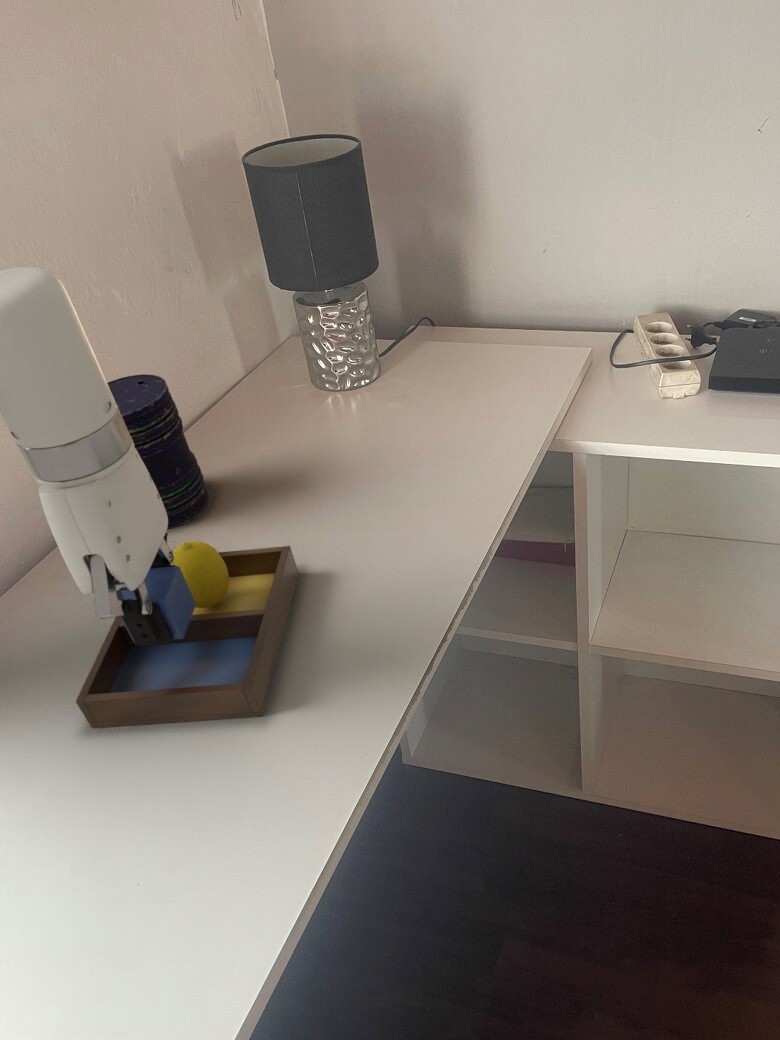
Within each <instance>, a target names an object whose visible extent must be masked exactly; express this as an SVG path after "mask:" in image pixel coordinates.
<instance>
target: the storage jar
mask: <svg viewBox="0 0 780 1040" xmlns="http://www.w3.org/2000/svg"><path fill="white" fill-rule="evenodd" d="M107 384H108V386H109V388H110V391H111V393H112V395H113V398H114V400H115V402H116V404H117V407H118V409H119V411H120V413H121V416H122V418H123V420H124V422H125V425H126V427H127V429H128V431H129V434H130V436H131V438H132V440H133V443H134V447H135V449H136V450H137V452H138V454H139V456H140V457H141V459H142V461H143V463H144V464H145V466H146V468H147V470H148V472H149V474H150V476H151V478H152V480H153V482H154V484H155V486H156V488H157V490H158V493H159V495H160V497H161V500H162V502H163V505H164V507H165V510H166V513H167V516H168V527H167V530H168V529H169V530H170V529H173V528H176V527H178V526H182V525H183V524H186V523H188V522H190V521H192V520H194V518H196V517H197V516H199V515H200V514H201V513H203V511H204V510H205V509H206V508H207V506H208V504H209V503H210V493H209V490H208V488H207V487H206V483H205V480H204V475H203V472H202V469H201V466H200V465H199V464H198V459H197V458H196V455H195V454H194V452H193V451H191V449H190V446H189V443H188V441H187V439H186V436H185V433H184V431H183V430H184V425H183V420H182V417H181V416H180V414H179V410H178V407H177V405H176V401H174V399H173V397H172V394H171V392H170V390H169V386H168V384H167V381H166V379H164V378H163V377H161V376H159V375H155V374H149V373H147V374H144V373H143V374H141V373H140V374H134V375H128V376H127V375H126V376H123V377H120V378H116V379H113V380H110V381H107Z"/></svg>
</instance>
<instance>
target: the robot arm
mask: <svg viewBox="0 0 780 1040" xmlns="http://www.w3.org/2000/svg"><path fill="white" fill-rule="evenodd" d="M84 329H85V328H84V327H83V325H82V322H81V320H80V318H79V316H78V313H77V311H76V309H75V307H74V305H73V302H72V299H71V298H70V295H69V294H68V292H67V290H66V287H65V286H64V284H63V282H62V281H61V280H60V279H59V278H58V277H57V276H56V275H55V274H54V273H52V272H51V271H49V270H47V269H45V268H42V267H37V266H18V267H10V268H6V269H1V270H0V416H1V417H2V420H3V421H4V423H5V425H6V427H7V429H8V431H9V432H10V434H11V436H12V437H13V440H14V441H15V444H16V445H17V447H18V449H19V452H20V453H21V455H22V456H23V459H24V461H25V462H26V465H27V466H28V468H29V470H30V472H31V474H32V475H33V477H34V479H35V480H36V482H37V483H38V484H39V487H38V489H37V491H38V496H39V499H40V503H41V507H42V510H43V512H44V515H45V518H46V521H47V524H48V526H49V529H50V531H51V534H52V536H53V538H54V541H55V543H56V545H57V548H58V551H59V552H60V554H61V556H62V559H63V561H64V562H65V564H66V567H67V569H68V571H69V573H70V574H71V576H72V578H73V581H74V582H75V585H76V586H77V588H78V589H79V590H80V592H81V593H82V594H83V595H84V596H91V595H93V597H94V599H93V600H94V606H95V612H96V613H95V614H96V617H97V618H98V619H99V620H100V619H101V620H102V619H115V617H122V618H123V620H124V622H125V624H126V626H127V628H128V629H129V631H130V633H131V635H132V637H133V639H134V641H135V643H136V644H137V645H138V646H154V645H165V644H171V643H172V640H173V635H172V633H171V631H170V629H169V627H168V625H167V623H166V621H165V619H164V617H163V615H162V613H161V611H160V608H159V606H158V605H155V606H152V603H151V600H150V597H149V593H148V590H147V587H146V584H145V581H144V579H145V577H146V575H147V573H148V571H149V569H152V568H163V567H173V566H175V565H170V564H172V563H173V562H174V554H173V552H174V551H173V549H171V547H170V545H169V544H168V534H169V533H167V531H168V529H167V527H168V516H167V513H166V510H165V507H164V505H163V502H162V500H161V497H160V495H159V493H158V490H157V488H156V486H155V484H154V482H153V480H152V478H151V476H150V474H149V472H148V470H147V468H146V466H145V464H144V463H143V461H142V459H141V457H140V456H139V454H138V452H137V450H136V449H135V447H134V443H133V440H132V438H131V436H130V434H129V431H128V429H127V427H126V425H125V422H124V420H123V418H122V416H121V413H120V411H119V409H118V407H117V404H116V402H115V400H114V398H113V395H112V393H111V391H110V388H109V386H108V384H107V383H108V381H107V379H106V377H105V375H104V372H103V371H102V370H103V369H102V368H101V366H100V363H99V361H98V359H97V356H96V354H95V352H94V350H93V348H92V345H91V343H90V341H89V338H88V336H87V333H86V332H85V330H84ZM121 590H130V591H134V593H135V596H136V599H137V600H133V599H126V600H124V597H123V594H122V591H121Z"/></svg>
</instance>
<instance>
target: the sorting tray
mask: <svg viewBox="0 0 780 1040" xmlns="http://www.w3.org/2000/svg"><path fill="white" fill-rule="evenodd" d="M217 552H218V551H217ZM218 553H219V555H220V556H221V558H222V559H223V561H224V562H225V564H226V567H227V570H228V575H229V586H228V590H227V592H226V594H225V596H224V597H223V599H222V600H221V601H220V602H218V603H217V604H215V605H214V606H213V607H207V608H196V607H195V609H194V611H193V614H192V617H191V619H190V622H189V625H188V627H187V630H186V633H185V635H184V638H183V639H174V640H172V643H171V644H165V645H154V646H138V645H137V644H136V643H134V642H133V640H132V638H131V636H130V634H129V632H128V631H127V629H126V627H125V625H124V623H123V621H122V619H121V617H115V618H113V621H112V624H111V625H110V627H109V629H108V632H107V634H106V636H105V639H104V641H103V643H102V644H101V647H100V649H99V650H98V653H97V655H96V657H95V660H94V662H93V664H92V666H91V668H90V671H89V672H88V674H87V677H86V678H85V681H84V683H83V685H82V686H81V690H80V692H79V693H78V696H77V698H76V700H75V704H76V706H77V707H78V708H79V710H80V711H81V713H82V715H83V716H84V718H85V719H86V722H88V724H89V726H90V728H92V729H102V728H113V727H114V728H115V727H128V726H129V727H130V726H142V725H156V724H157V725H158V724H171V723H184V722H185V723H186V722H187V723H188V722H199V721H215V720H226V719H227V720H228V719H242V718H255V717H257V718H258V717H263V716H264V712H265V709H266V704H267V700H268V697H269V692H270V689H271V685H272V681H273V677H274V671H275V668H276V665H277V661H278V656H279V653H280V649H281V645H282V640H283V638H284V632H285V628H286V625H287V620H288V617H289V612H290V608H291V605H292V600H293V597H294V593H295V589H296V584H297V581H298V576H299V573H300V571H299V569H298V566H297V563H296V559H295V557H294V554H293V551H292V547H291V546H290V545H284V546H273V547H262V548H252V549H240V550H233V551H232V550H231V551H229V550H228V551H220V552H218Z"/></svg>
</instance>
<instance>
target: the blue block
mask: <svg viewBox="0 0 780 1040" xmlns="http://www.w3.org/2000/svg"><path fill="white" fill-rule="evenodd" d="M144 581H145V584H146V587H147V590H148V593H149V597H150V600H151V603H152V606H155V605H158V606H159V608H160V611H161V613H162V615H163V617H164V619H165V621H166V623H167V625H168V627H169V629H170V631H171V633H172V635H173V640H174V639H183V638H184V635H185V633H186V630H187V627H188V625H189V622H190V619H191V617H192V614H193V611H194V609H195V606H196V603H195V600H194V598H193V596H192V594H191V592H190V589H189V587H188V585H187V583H186V580H185V578H184V576H183V574H182V572H181V569H180V567H179V566H173V567H163V568H152V569H149V571H148V573H147V575H146V577H145V579H144ZM121 591H122V594H123V597H124V600H126V599H133V600H137V599H136V596H135V593H134V591H130V590H121ZM121 619H122V621H123V623H124V625H125V627H126V629H127V631H128V632H129V634H130V636H131V638H132V640H133V642H134V643H135V641H134V639H133V637H132V635H131V633H130V631H129V629H128V628H127V626H126V624H125V622H124V620H123V618H122V617H121Z"/></svg>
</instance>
